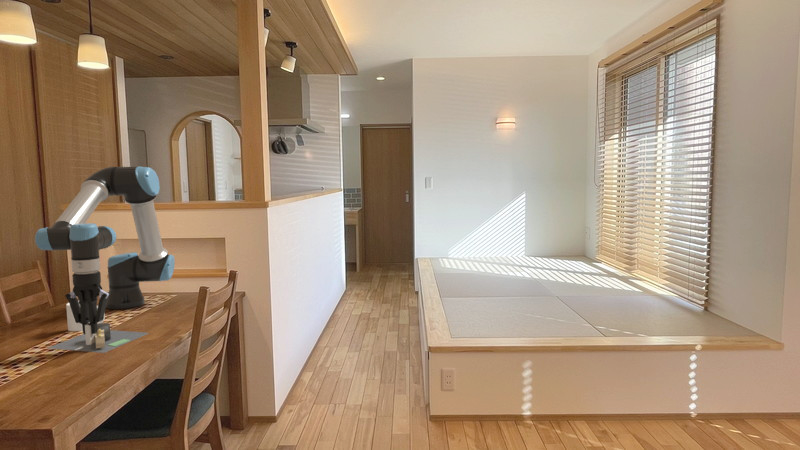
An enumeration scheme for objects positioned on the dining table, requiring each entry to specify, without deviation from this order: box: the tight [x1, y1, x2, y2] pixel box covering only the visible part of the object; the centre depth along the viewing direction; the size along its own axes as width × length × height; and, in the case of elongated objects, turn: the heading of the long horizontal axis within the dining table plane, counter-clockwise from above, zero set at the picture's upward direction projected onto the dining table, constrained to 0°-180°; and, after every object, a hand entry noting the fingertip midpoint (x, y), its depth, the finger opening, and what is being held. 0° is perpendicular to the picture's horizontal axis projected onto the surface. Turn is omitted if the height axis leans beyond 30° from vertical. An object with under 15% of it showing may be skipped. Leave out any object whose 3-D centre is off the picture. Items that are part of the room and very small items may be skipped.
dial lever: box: [95, 322, 111, 348], centre depth 157 cm, size 15×6×5 cm, turn 32°
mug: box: [65, 300, 106, 332], centre depth 175 cm, size 9×12×11 cm
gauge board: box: [47, 329, 149, 354], centre depth 161 cm, size 20×22×1 cm
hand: (90, 343), depth 153 cm, fingers closed
